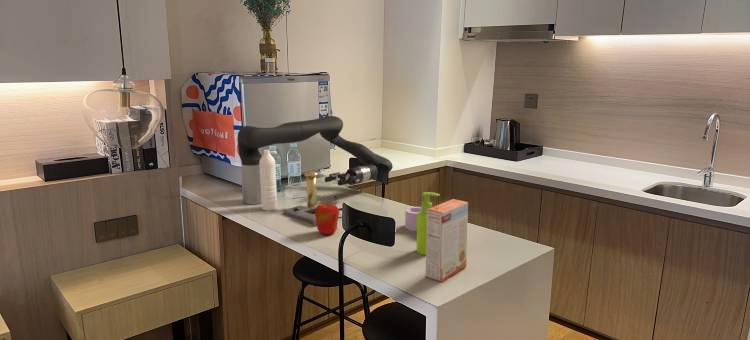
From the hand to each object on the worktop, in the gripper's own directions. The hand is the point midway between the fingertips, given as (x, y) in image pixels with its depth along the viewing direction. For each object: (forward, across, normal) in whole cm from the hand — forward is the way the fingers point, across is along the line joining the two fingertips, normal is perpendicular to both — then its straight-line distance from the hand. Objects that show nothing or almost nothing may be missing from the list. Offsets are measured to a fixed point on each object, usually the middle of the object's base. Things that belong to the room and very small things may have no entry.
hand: (331, 181), depth 219 cm
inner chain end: (+20, +8, +9) cm, 23 cm away
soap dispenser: (+16, +65, +9) cm, 68 cm away
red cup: (+27, +28, +9) cm, 40 cm away
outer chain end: (+20, +14, +9) cm, 26 cm away
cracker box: (+25, +79, +9) cm, 84 cm away
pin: (+11, 0, +9) cm, 15 cm away
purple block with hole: (-1, +54, +10) cm, 55 cm away
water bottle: (+24, -11, +9) cm, 28 cm away
